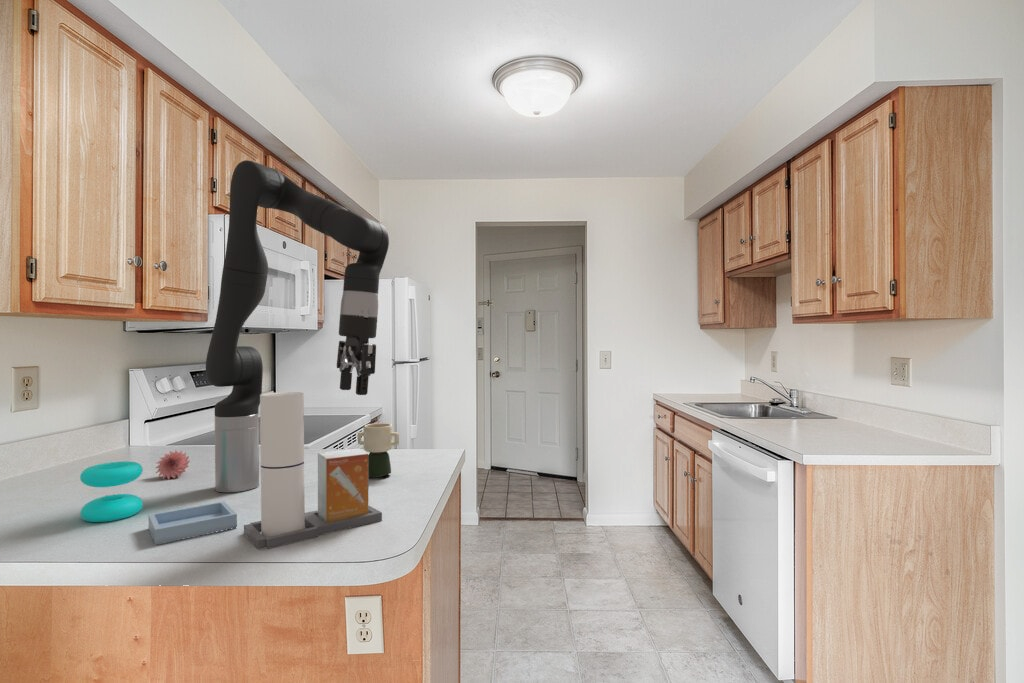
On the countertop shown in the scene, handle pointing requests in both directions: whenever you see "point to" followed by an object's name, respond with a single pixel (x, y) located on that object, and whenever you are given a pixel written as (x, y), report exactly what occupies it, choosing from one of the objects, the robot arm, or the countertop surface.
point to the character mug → (378, 447)
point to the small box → (342, 484)
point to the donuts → (112, 504)
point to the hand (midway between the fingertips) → (353, 392)
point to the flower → (173, 464)
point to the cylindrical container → (282, 463)
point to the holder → (308, 528)
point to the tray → (191, 522)
